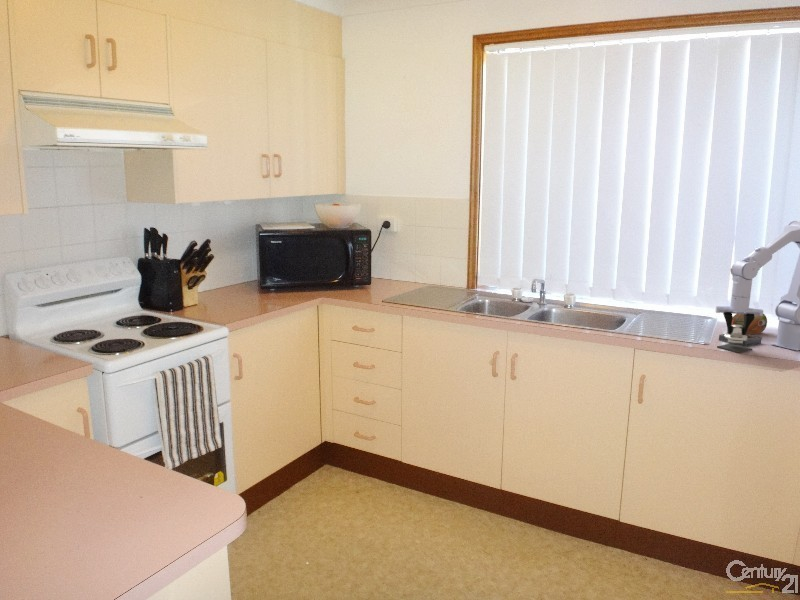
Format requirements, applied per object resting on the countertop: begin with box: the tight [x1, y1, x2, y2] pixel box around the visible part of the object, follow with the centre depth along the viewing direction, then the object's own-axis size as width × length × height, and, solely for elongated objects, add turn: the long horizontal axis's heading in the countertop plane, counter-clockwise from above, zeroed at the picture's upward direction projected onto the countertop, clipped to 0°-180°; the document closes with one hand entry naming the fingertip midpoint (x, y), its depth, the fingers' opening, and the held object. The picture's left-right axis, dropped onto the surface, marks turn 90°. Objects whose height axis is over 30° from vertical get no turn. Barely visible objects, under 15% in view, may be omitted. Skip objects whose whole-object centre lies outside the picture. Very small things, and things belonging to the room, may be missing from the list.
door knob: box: [723, 325, 748, 345], centre depth 226 cm, size 7×7×6 cm
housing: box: [718, 333, 763, 347], centre depth 237 cm, size 10×10×2 cm
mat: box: [716, 343, 753, 354], centre depth 227 cm, size 8×8×1 cm
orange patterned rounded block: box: [731, 313, 768, 335], centre depth 248 cm, size 15×3×8 cm, turn 105°
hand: (736, 334), depth 226 cm, fingers closed on door knob, 4 cm apart
